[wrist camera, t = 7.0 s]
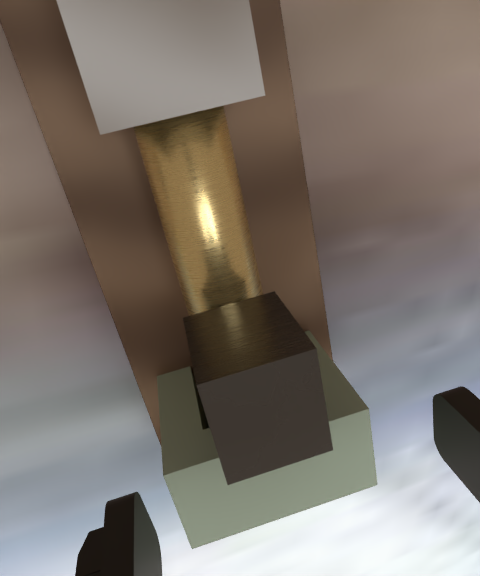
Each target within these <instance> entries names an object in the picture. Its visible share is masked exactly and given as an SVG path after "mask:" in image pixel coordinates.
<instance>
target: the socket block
mask: <svg viewBox="0 0 480 576" xmlns="http://www.w3.org/2000/svg"><path fill="white" fill-rule="evenodd" d="M305 333H306V335H307V336H308V337H309V339H310V340H311V341H312V343H313V344H314V346H315V347H316V348H317V354H318V360H319V366H320V372H321V378H322V384H323V390H324V396H325V402H326V408H327V415H328V421H329V427H330V433H331V439H332V445H333V450H332V451H329V452H326V453H323V454H320V455H317V456H314V457H311V458H308V459H305V460H302V461H299V462H296V463H293V464H290V465H287V466H284V467H281V468H278V469H275V470H272V471H269V472H266V473H263V474H260V475H257V476H254V477H251V478H248V479H245V480H242V481H239V482H236V483H233V484H230V485H227V482H226V478H225V475H224V472H223V469H222V465H221V462H220V459H219V456H218V453H217V449H216V446H215V443H214V440H213V436H212V433H211V430H210V427H209V424H208V420H207V418H206V415H205V412H204V409H203V406H202V402H201V399H200V396H199V393H198V390H197V386H196V383H195V380H194V377H193V373H192V370H191V367H190V366H189V367H186V368H182V369H179V370H176V371H172V372H169V373H166V374H162V375H159V376H157V386H158V401H159V417H160V432H161V447H162V462H163V476H164V479H165V481H166V484H167V486H168V489H169V491H170V494H171V496H172V499H173V502H174V504H175V507H176V509H177V512H178V514H179V517H180V520H181V522H182V525H183V527H184V530H185V532H186V535H187V537H188V540H189V543H190V545H191V548H192V549H194V548H197V547H199V546H202V545H205V544H208V543H211V542H214V541H217V540H220V539H223V538H225V537H228V536H231V535H234V534H237V533H240V532H243V531H246V530H249V529H251V528H254V527H257V526H260V525H263V524H266V523H269V522H272V521H275V520H277V519H280V518H283V517H286V516H289V515H292V514H295V513H298V512H301V511H303V510H306V509H309V508H312V507H315V506H318V505H321V504H324V503H327V502H329V501H332V500H335V499H338V498H341V497H344V496H347V495H350V494H353V493H355V492H358V491H361V490H364V489H367V488H370V487H373V486H376V485H377V477H376V468H375V459H374V450H373V442H372V433H371V424H370V415H369V408H368V407H367V406H366V404H365V403H364V402H363V400H362V399H361V398H360V397H359V395H358V394H357V393H356V391H355V390H354V389H353V387H352V386H351V385H350V383H349V382H348V381H347V379H346V378H345V377H344V375H343V374H342V373H341V372H340V370H339V369H338V368H337V366H336V365H335V364H334V362H333V361H332V360H331V358H330V357H329V356H328V354H327V353H326V352H325V350H324V349H323V348H322V346H321V345H320V344H319V343H318V341H317V340H316V339H315V337H314V336H313V335H312V333H311V332H310V331H305Z"/></svg>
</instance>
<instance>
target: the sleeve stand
mask: <svg viewBox="0 0 480 576" xmlns="http://www.w3.org/2000/svg"><path fill="white" fill-rule="evenodd" d="M0 22H1V24H2V27H3V30H4V32H5V35H6V38H7V40H8V43H9V46H10V48H11V51H12V53H13V56H14V59H15V61H16V64H17V67H18V69H19V72H20V75H21V77H22V80H23V83H24V85H25V88H26V90H27V93H28V96H29V98H30V101H31V104H32V106H33V109H34V112H35V114H36V117H37V119H38V122H39V125H40V127H41V130H42V133H43V135H44V138H45V141H46V143H47V146H48V149H49V151H50V154H51V156H52V159H53V162H54V164H55V167H56V170H57V172H58V175H59V178H60V180H61V183H62V185H63V188H64V191H65V193H66V196H67V199H68V201H69V204H70V207H71V209H72V212H73V215H74V217H75V220H76V222H77V225H78V228H79V230H80V233H81V236H82V238H83V241H84V244H85V246H86V249H87V252H88V254H89V257H90V259H91V262H92V265H93V267H94V270H95V273H96V275H97V278H98V281H99V283H100V286H101V288H102V291H103V294H104V296H105V299H106V302H107V304H108V307H109V310H110V312H111V315H112V318H113V320H114V323H115V325H116V328H117V331H118V333H119V336H120V339H121V341H122V344H123V347H124V349H125V352H126V355H127V357H128V360H129V362H130V365H131V368H132V370H133V373H134V376H135V378H136V381H137V384H138V386H139V389H140V391H141V394H142V397H143V399H144V402H145V405H146V407H147V410H148V413H149V415H150V418H151V421H152V423H153V426H154V428H155V431H156V434H157V436H158V439H159V442H160V444H161V432H160V417H159V401H158V386H157V376H159V375H162V374H166V373H169V372H172V371H176V370H179V369H182V368H186V367H189V366H190V367H191V370H192V373H193V377H194V380H195V375H194V370H193V365H192V361H191V356H190V351H189V346H188V341H187V336H186V331H185V327H184V322H183V317H187V316H189V315H188V311H187V308H186V304H185V301H184V298H183V294H182V291H181V288H180V284H179V281H178V277H177V274H176V271H175V267H174V264H173V260H172V257H171V254H170V250H169V247H168V244H167V240H166V237H165V233H164V230H163V227H162V223H161V220H160V216H159V213H158V210H157V206H156V203H155V200H154V196H153V193H152V189H151V186H150V183H149V179H148V176H147V173H146V169H145V166H144V162H143V159H142V156H141V152H140V149H139V145H138V142H137V139H136V135H135V132H134V129H133V127H135V126H139V125H144V124H148V123H152V122H156V121H160V120H165V119H169V118H173V117H177V116H181V115H186V114H190V113H194V112H198V111H202V110H207V109H211V108H215V107H219V106H223V105H224V110H225V115H226V120H227V124H228V129H229V134H230V139H231V143H232V148H233V153H234V158H235V162H236V167H237V172H238V177H239V181H240V186H241V191H242V196H243V200H244V205H245V210H246V215H247V219H248V224H249V229H250V234H251V238H252V243H253V248H254V253H255V257H256V262H257V267H258V272H259V276H260V281H261V286H262V291H263V294H266V293H270V292H273V291H275V292H276V294H277V295H278V296H279V298H280V299H281V301H282V302H283V303H284V305H285V306H286V307H287V309H288V310H289V311H290V313H291V314H292V316H293V317H294V318H295V320H296V321H297V322H298V324H299V325H300V326H301V328H302V329H303V331H304V332H305V331H310V332H311V333H312V335H313V336H314V337H315V339H316V340H317V341H318V343H319V344H320V345H321V346H322V348H323V349H324V350H325V352H326V353H327V354H328V356H329V357H330V358H331V360H332V361H333V359H332V352H331V345H330V338H329V332H328V325H327V318H326V311H325V305H324V298H323V291H322V284H321V277H320V271H319V264H318V257H317V250H316V244H315V237H314V230H313V223H312V217H311V210H310V203H309V196H308V190H307V183H306V176H305V169H304V162H303V156H302V149H301V142H300V135H299V129H298V122H297V115H296V108H295V102H294V95H293V88H292V81H291V75H290V68H289V61H288V54H287V47H286V41H285V34H284V27H283V20H282V14H281V7H280V0H0ZM195 383H196V380H195ZM196 386H197V385H196ZM197 390H198V388H197ZM198 393H199V391H198ZM199 396H200V395H199ZM200 399H201V398H200ZM201 402H202V401H201ZM202 406H203V404H202ZM203 409H204V408H203ZM204 412H205V411H204ZM205 415H206V414H205ZM206 418H207V417H206Z"/></svg>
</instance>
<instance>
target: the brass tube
mask: <svg viewBox="0 0 480 576" xmlns="http://www.w3.org/2000/svg"><path fill="white" fill-rule="evenodd" d="M133 129H134V132H135V135H136V139H137V142H138V145H139V149H140V152H141V156H142V159H143V162H144V166H145V169H146V173H147V176H148V179H149V183H150V186H151V189H152V193H153V196H154V200H155V203H156V206H157V210H158V213H159V216H160V220H161V223H162V227H163V230H164V233H165V237H166V240H167V244H168V247H169V250H170V254H171V257H172V260H173V264H174V267H175V271H176V274H177V277H178V281H179V284H180V288H181V291H182V294H183V298H184V301H185V304H186V308H187V311H188V315H189V316H187V317H183V322H184V327H185V331H186V336H187V341H188V346H189V351H190V356H191V361H192V365H193V370H194V375H195V380H196V385H197V388H198V391H199V395H200V398H201V401H202V404H203V408H204V411H205V414H206V417H207V420H208V424H209V427H210V430H211V433H212V436H213V440H214V443H215V446H216V449H217V453H218V456H219V459H220V462H221V465H222V469H223V472H224V475H225V478H226V482H227V485H230V484H233V483H236V482H239V481H242V480H245V479H248V478H251V477H254V476H257V475H260V474H263V473H266V472H269V471H272V470H275V469H278V468H281V467H284V466H287V465H290V464H293V463H296V462H299V461H302V460H305V459H308V458H311V457H314V456H317V455H320V454H323V453H326V452H329V451H332V450H333V445H332V439H331V433H330V427H329V421H328V415H327V408H326V402H325V396H324V390H323V384H322V378H321V372H320V366H319V360H318V354H317V348H316V347H315V346H314V344H313V343H312V341H311V340H310V339H309V337H308V336H307V335H306V333H305V332H304V331H303V329H302V328H301V326H300V325H299V324H298V322H297V321H296V320H295V318H294V317H293V316H292V314H291V313H290V311H289V310H288V309H287V307H286V306H285V305H284V303H283V302H282V301H281V299H280V298H279V296H278V295H277V294H276V292H275V291H273V292H270V293H266V294H263V291H262V286H261V281H260V276H259V272H258V267H257V262H256V257H255V253H254V248H253V243H252V238H251V234H250V229H249V224H248V219H247V215H246V210H245V205H244V200H243V196H242V191H241V186H240V181H239V177H238V172H237V167H236V162H235V158H234V153H233V148H232V143H231V139H230V134H229V129H228V124H227V120H226V115H225V110H224V105H223V106H219V107H215V108H211V109H207V110H202V111H198V112H194V113H190V114H186V115H181V116H177V117H173V118H169V119H165V120H160V121H156V122H152V123H148V124H144V125H139V126H135V127H133Z"/></svg>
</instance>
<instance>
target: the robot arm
mask: <svg viewBox="0 0 480 576" xmlns="http://www.w3.org/2000/svg"><path fill="white" fill-rule="evenodd" d="M433 427H434V441H435V444H436V447H437V449H438V451H439V453H440V455H441V457H442V458H443V460H444V461H445V462H446V463H447V464H448V466H449V467H450V468H451V469H452V470H453V472H454V473H455V474H456V475H457V476H458V477H459V479H460V480H461V481H462V482H463V483H464V485H465V486H466V487H467V488H468V489H469V490H470V492H471V493H472V494H473V495H474V496H475V498H476V499H477V500H478V501H479V502H480V399H478V398H477V397H476V396H475V395H474V394H473V393H472V392H470V391H469V390H468V389H467V388H465V387H458V388H455V389H452V390H448V391H445V392H442V393H439V394H436V395H435V396H434V397H433ZM75 576H162V563H161V551H160V545H159V540H158V536H157V533H156V530H155V528H154V526H153V523H152V521H151V519H150V517H149V514H148V512H147V510H146V508H145V505H144V503H143V501H142V499H141V497H140V495H139V493H138V492H135V493H132V494H129V495H126V496H123V497H120V498H117V499H113V500H110V501H108V502H107V503H106V507H105V519H104V527H102V528H99V529H96V530H93V531H90V532H89V533H88V535H87V538H86V540H85V542H84V544H83V546H82V548H81V550H80V552H79V554H78V559H77V566H76V574H75Z"/></svg>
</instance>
